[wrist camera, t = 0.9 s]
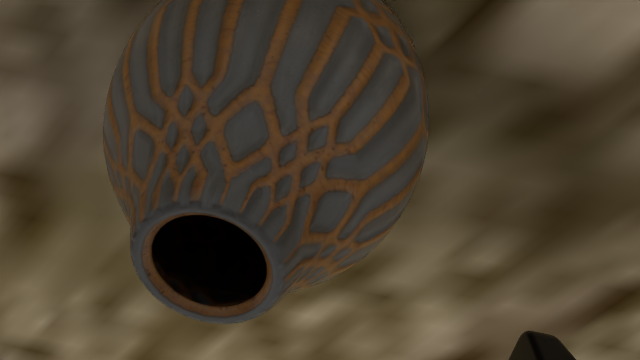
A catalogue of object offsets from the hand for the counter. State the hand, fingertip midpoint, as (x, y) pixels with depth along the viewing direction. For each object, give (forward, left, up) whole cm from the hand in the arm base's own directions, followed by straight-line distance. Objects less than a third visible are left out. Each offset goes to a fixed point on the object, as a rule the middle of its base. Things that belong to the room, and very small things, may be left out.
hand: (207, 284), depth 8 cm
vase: (0, 0, -9) cm, 9 cm away
